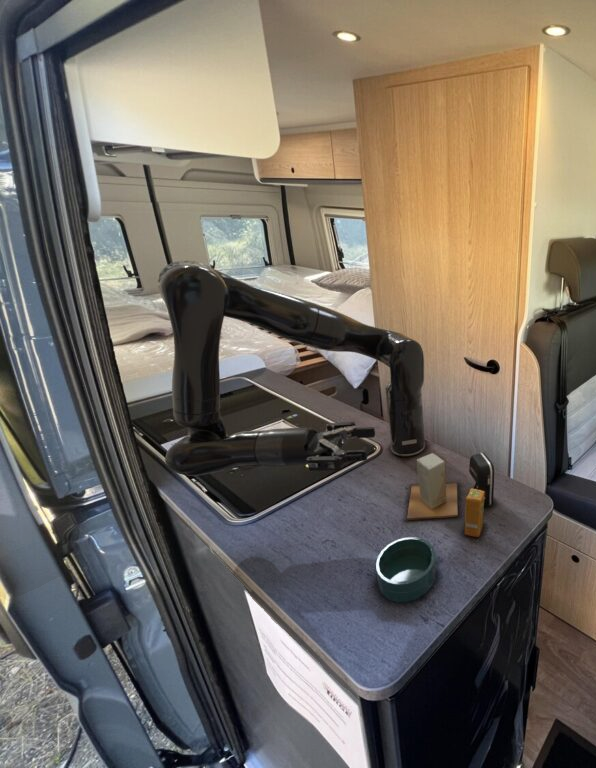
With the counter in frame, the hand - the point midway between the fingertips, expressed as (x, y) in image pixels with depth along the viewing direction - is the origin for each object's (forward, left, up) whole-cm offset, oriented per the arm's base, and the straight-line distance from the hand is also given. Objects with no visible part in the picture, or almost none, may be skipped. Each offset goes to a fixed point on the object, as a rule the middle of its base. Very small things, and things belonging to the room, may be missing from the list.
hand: (370, 443), depth 81 cm
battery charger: (-1, +23, -18) cm, 29 cm away
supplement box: (+9, +21, -18) cm, 29 cm away
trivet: (-1, +12, -18) cm, 21 cm away
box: (-1, +12, -17) cm, 21 cm away
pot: (+19, +8, -18) cm, 27 cm away
